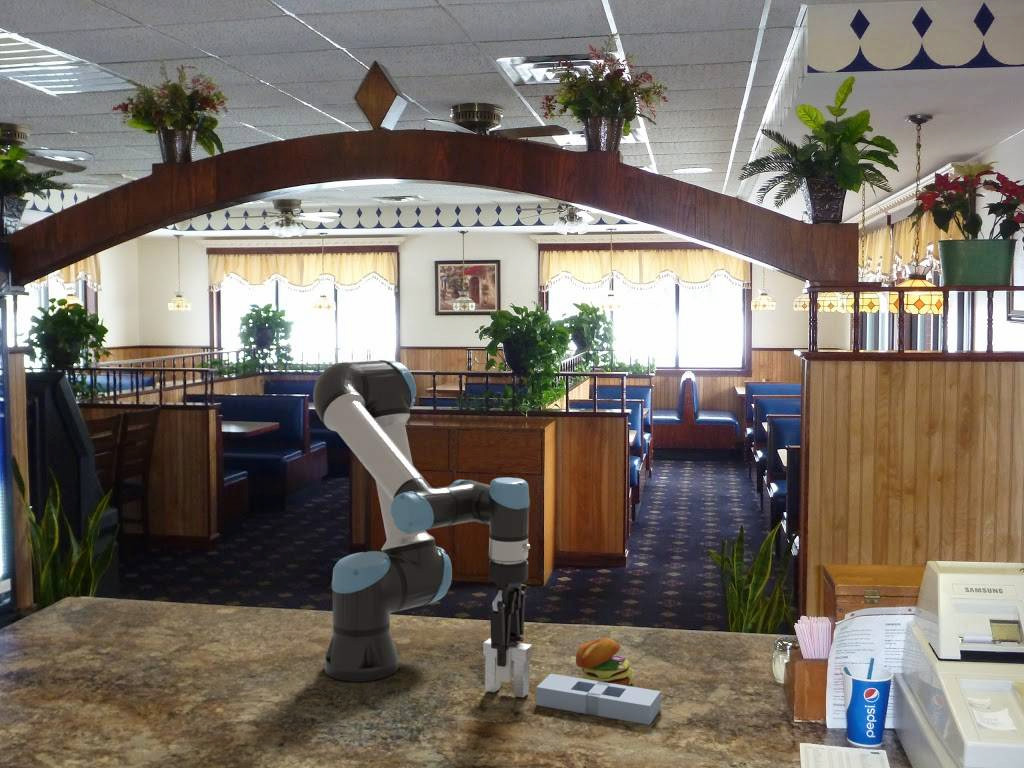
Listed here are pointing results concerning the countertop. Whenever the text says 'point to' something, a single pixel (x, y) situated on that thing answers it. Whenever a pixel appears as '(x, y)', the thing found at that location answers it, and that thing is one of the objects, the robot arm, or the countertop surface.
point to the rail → (599, 698)
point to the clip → (521, 667)
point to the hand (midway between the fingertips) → (507, 677)
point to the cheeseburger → (604, 662)
